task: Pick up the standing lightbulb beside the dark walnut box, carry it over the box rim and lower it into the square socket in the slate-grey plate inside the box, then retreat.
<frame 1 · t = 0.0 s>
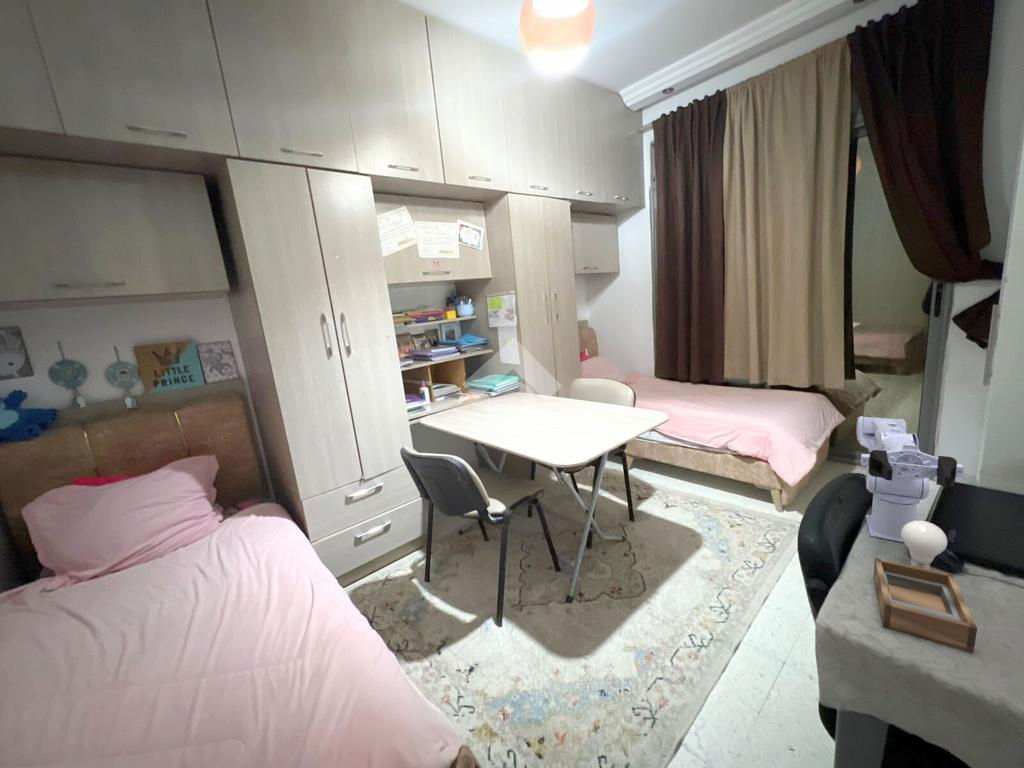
hand: (918, 478, 75), 22 cm above the table, tool horizontal, fingers open, 7 cm apart
lightbulb: (919, 573, 82), on the table
socket box: (917, 611, 73), on the table
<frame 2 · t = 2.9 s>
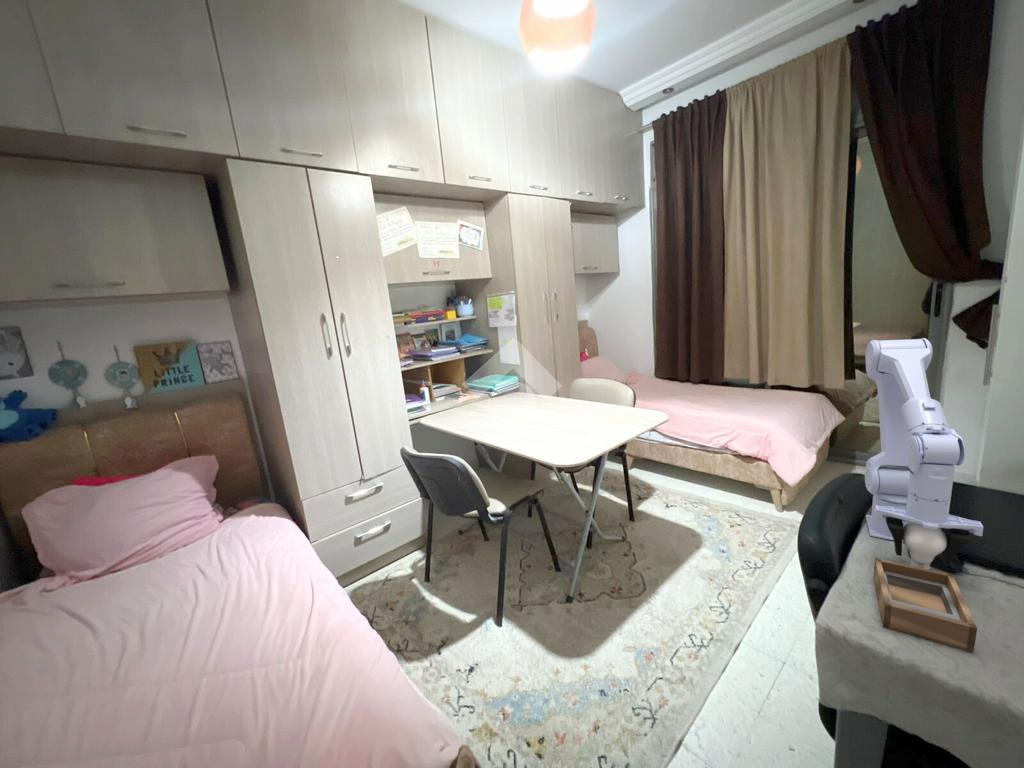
hand: (921, 557, 81), 3 cm above the table, tool pointing down, fingers closed on lightbulb, 6 cm apart
lightbulb: (919, 573, 82), on the table, touching gripper
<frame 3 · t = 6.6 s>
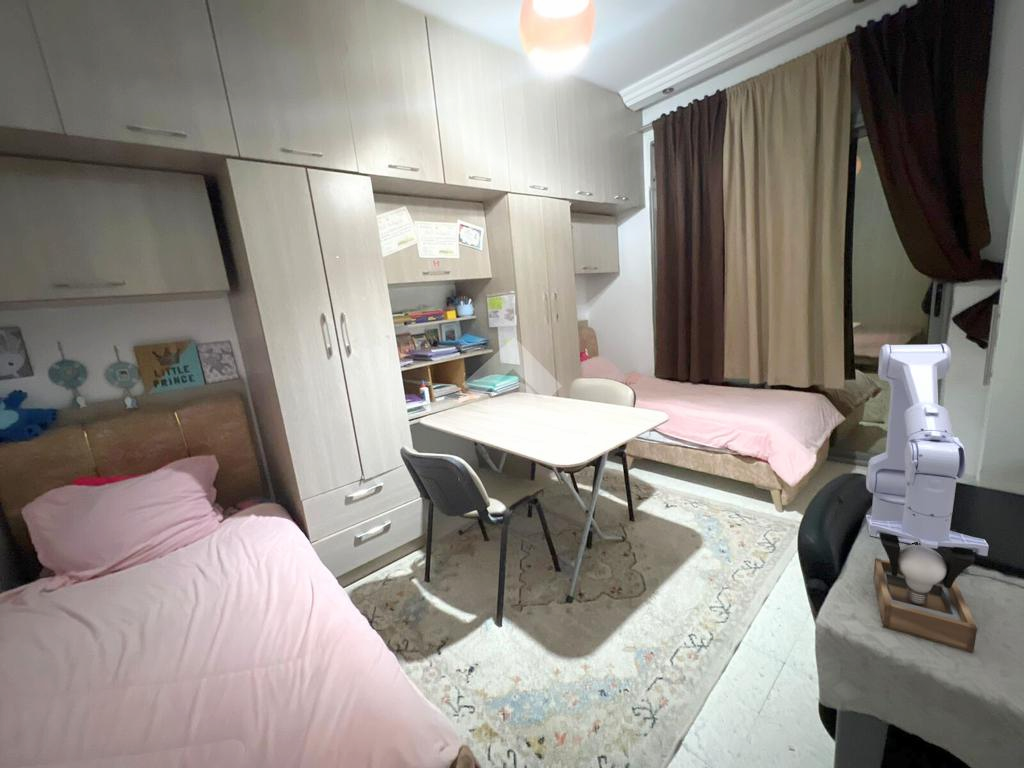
hand: (919, 578, 73), 6 cm above the table, tool pointing down, fingers closed on lightbulb, 6 cm apart
lightbulb: (916, 603, 75), resting on socket box, touching gripper
when the fingers open (6 cm above the table, at t = 7.8 s): lightbulb stays where it is, resting on socket box.
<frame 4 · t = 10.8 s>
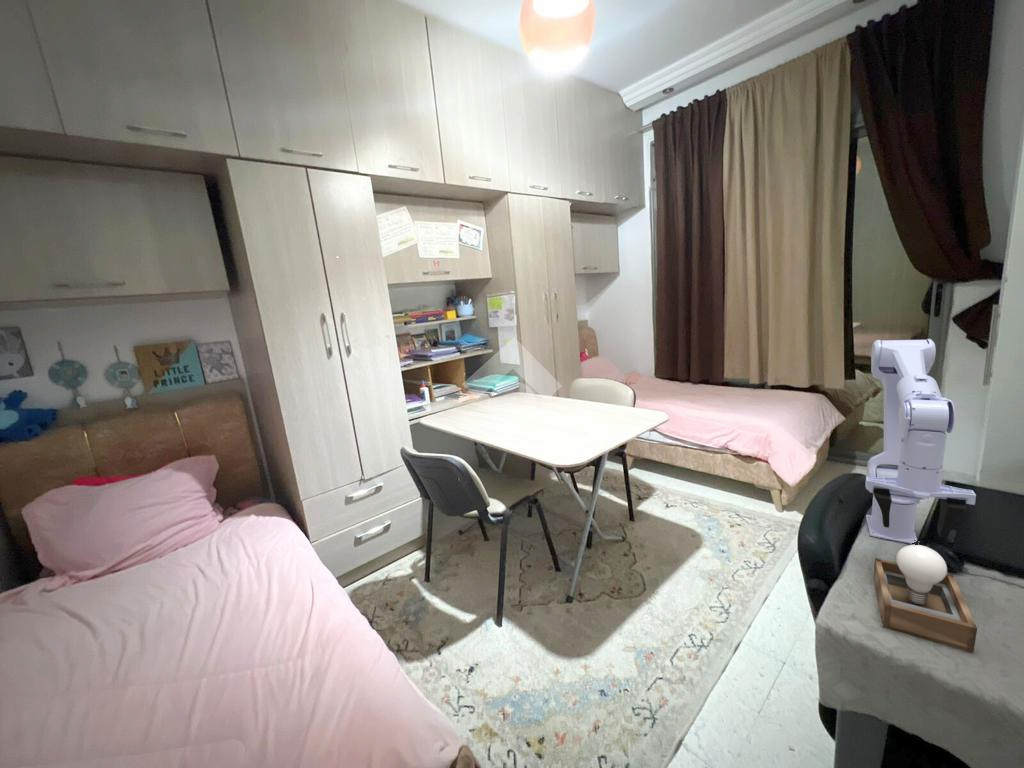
hand: (912, 529, 79), 10 cm above the table, tool pointing down, fingers open, 7 cm apart
lightbulb: (916, 603, 75), resting on socket box
at the end: lightbulb 0.1 cm from the target spot on the socket box, point 0.4 cm above the socket box's base; lightbulb tilted 0°; the gripper is holding nothing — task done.
